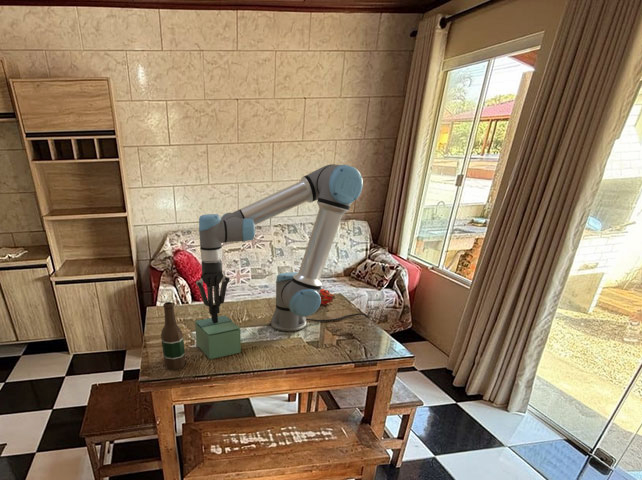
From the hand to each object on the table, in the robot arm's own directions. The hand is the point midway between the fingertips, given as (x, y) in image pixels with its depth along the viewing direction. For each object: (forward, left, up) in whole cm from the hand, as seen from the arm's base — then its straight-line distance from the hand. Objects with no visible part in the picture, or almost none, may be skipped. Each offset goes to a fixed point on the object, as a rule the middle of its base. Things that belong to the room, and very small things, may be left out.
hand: (214, 321), depth 158 cm
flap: (+1, -2, -1) cm, 2 cm away
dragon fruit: (-46, -51, -11) cm, 70 cm away
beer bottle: (+13, +17, -11) cm, 24 cm away
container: (-1, +2, -11) cm, 11 cm away
